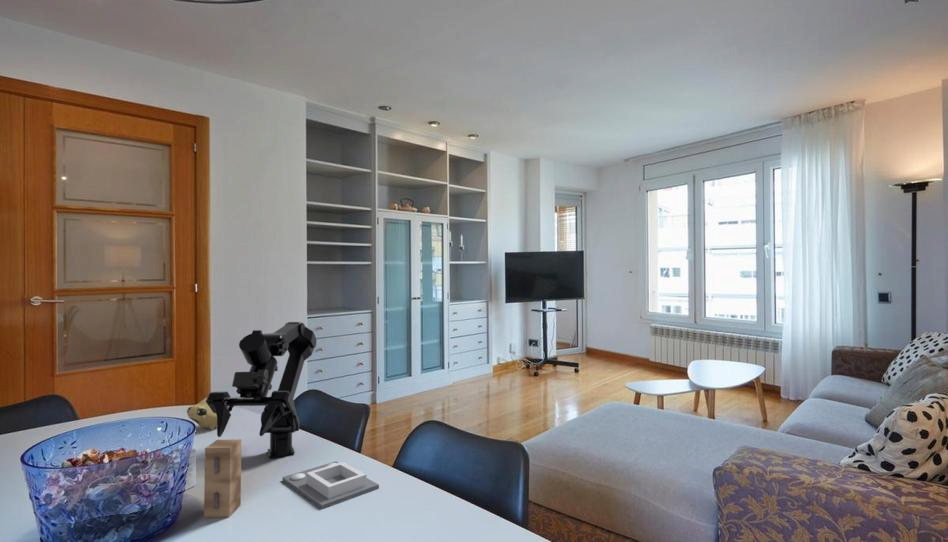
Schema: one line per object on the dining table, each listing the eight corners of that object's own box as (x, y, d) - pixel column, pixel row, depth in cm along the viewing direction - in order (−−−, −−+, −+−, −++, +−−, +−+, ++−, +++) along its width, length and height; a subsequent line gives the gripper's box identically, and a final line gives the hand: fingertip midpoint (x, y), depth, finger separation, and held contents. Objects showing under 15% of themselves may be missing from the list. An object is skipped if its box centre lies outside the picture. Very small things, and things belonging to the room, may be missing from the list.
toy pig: (181, 431, 149) (181, 398, 149) (217, 421, 159) (217, 390, 160) (200, 436, 144) (200, 401, 145) (235, 425, 155) (235, 393, 155)
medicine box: (196, 485, 109) (196, 448, 109) (179, 494, 104) (180, 455, 105) (170, 482, 111) (170, 445, 111) (152, 490, 106) (153, 452, 107)
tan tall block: (216, 506, 99) (217, 439, 99) (240, 505, 99) (241, 439, 99) (202, 519, 93) (202, 449, 93) (227, 519, 93) (228, 448, 94)
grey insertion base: (282, 480, 111) (282, 466, 111) (336, 464, 121) (336, 451, 121) (321, 509, 97) (322, 493, 97) (378, 488, 107) (378, 473, 107)
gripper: (210, 357, 109) (182, 418, 98) (290, 356, 110) (272, 416, 99) (226, 384, 117) (202, 443, 106) (301, 383, 118) (285, 441, 107)
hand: (239, 435), depth 104 cm, fingers open, 9 cm apart
